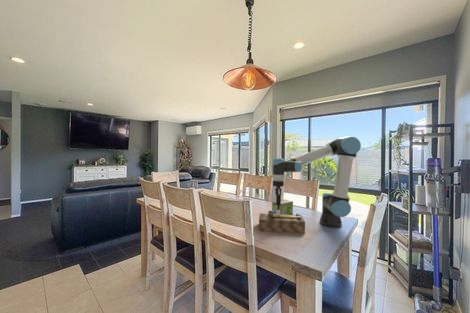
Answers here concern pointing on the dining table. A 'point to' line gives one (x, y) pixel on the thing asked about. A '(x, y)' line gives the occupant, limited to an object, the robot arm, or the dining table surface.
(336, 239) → the dining table surface
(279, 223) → the walnut chest
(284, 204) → the tea box
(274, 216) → the latch bar
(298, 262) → the dining table surface
